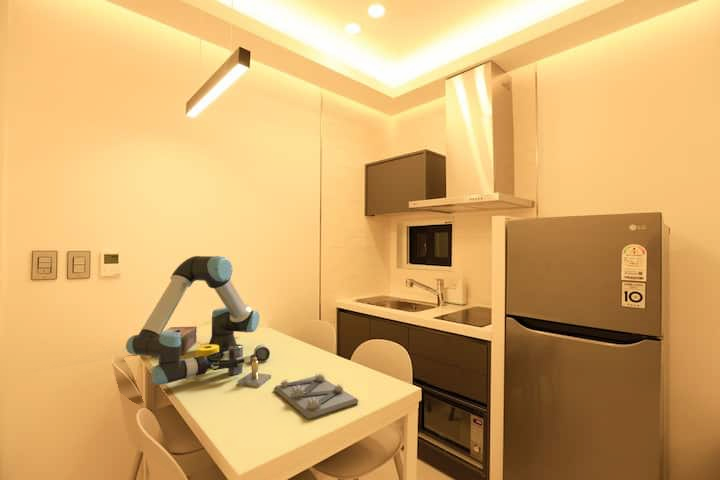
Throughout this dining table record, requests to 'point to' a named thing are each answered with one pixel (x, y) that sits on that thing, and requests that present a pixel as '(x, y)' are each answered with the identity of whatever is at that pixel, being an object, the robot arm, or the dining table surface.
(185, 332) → the tissue box cover
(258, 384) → the square metal stand
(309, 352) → the dining table surface
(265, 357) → the ceramic mug
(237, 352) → the trash can
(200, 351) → the tape roll
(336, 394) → the decorative plate
